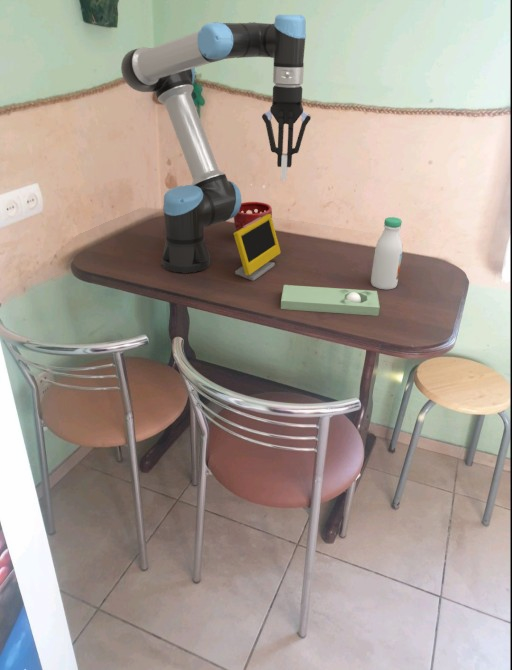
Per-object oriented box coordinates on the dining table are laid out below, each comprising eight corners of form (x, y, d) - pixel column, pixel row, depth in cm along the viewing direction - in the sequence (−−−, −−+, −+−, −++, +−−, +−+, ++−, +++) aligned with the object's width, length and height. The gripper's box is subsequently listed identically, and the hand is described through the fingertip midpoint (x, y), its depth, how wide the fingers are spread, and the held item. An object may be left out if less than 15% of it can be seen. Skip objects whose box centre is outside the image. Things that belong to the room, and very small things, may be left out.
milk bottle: (391, 292, 156) (402, 225, 146) (366, 286, 159) (375, 220, 149) (400, 283, 162) (411, 218, 151) (376, 277, 165) (385, 213, 155)
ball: (344, 307, 146) (349, 294, 144) (343, 300, 150) (348, 288, 148) (358, 311, 147) (363, 298, 145) (356, 304, 150) (362, 292, 148)
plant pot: (236, 232, 196) (236, 200, 190) (272, 235, 195) (274, 202, 189) (230, 245, 185) (230, 211, 179) (268, 248, 184) (269, 214, 178)
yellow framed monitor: (249, 285, 158) (250, 234, 150) (226, 279, 162) (226, 229, 154) (280, 262, 173) (282, 214, 165) (259, 257, 177) (260, 210, 169)
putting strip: (280, 308, 146) (281, 300, 145) (283, 292, 155) (283, 284, 153) (378, 315, 144) (379, 307, 142) (375, 299, 152) (376, 290, 151)
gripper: (260, 86, 135) (258, 181, 147) (313, 87, 133) (306, 183, 145) (263, 82, 141) (261, 174, 153) (313, 84, 140) (307, 176, 152)
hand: (283, 178), depth 149 cm, fingers closed
